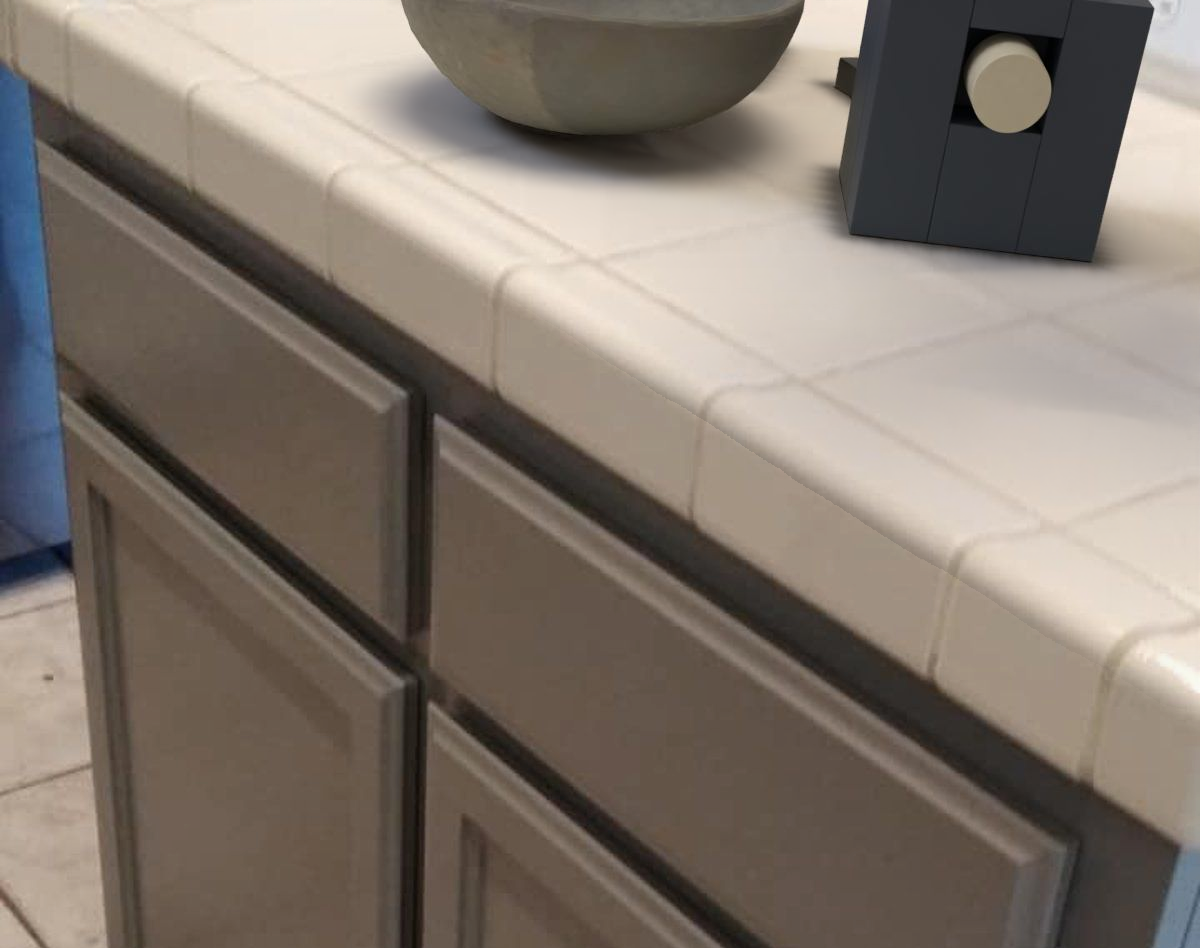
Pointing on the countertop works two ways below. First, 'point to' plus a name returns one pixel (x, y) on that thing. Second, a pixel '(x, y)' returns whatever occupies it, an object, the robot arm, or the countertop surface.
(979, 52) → the power button
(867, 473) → the countertop surface
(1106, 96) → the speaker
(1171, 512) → the countertop surface
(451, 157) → the countertop surface
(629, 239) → the countertop surface
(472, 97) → the bowl
